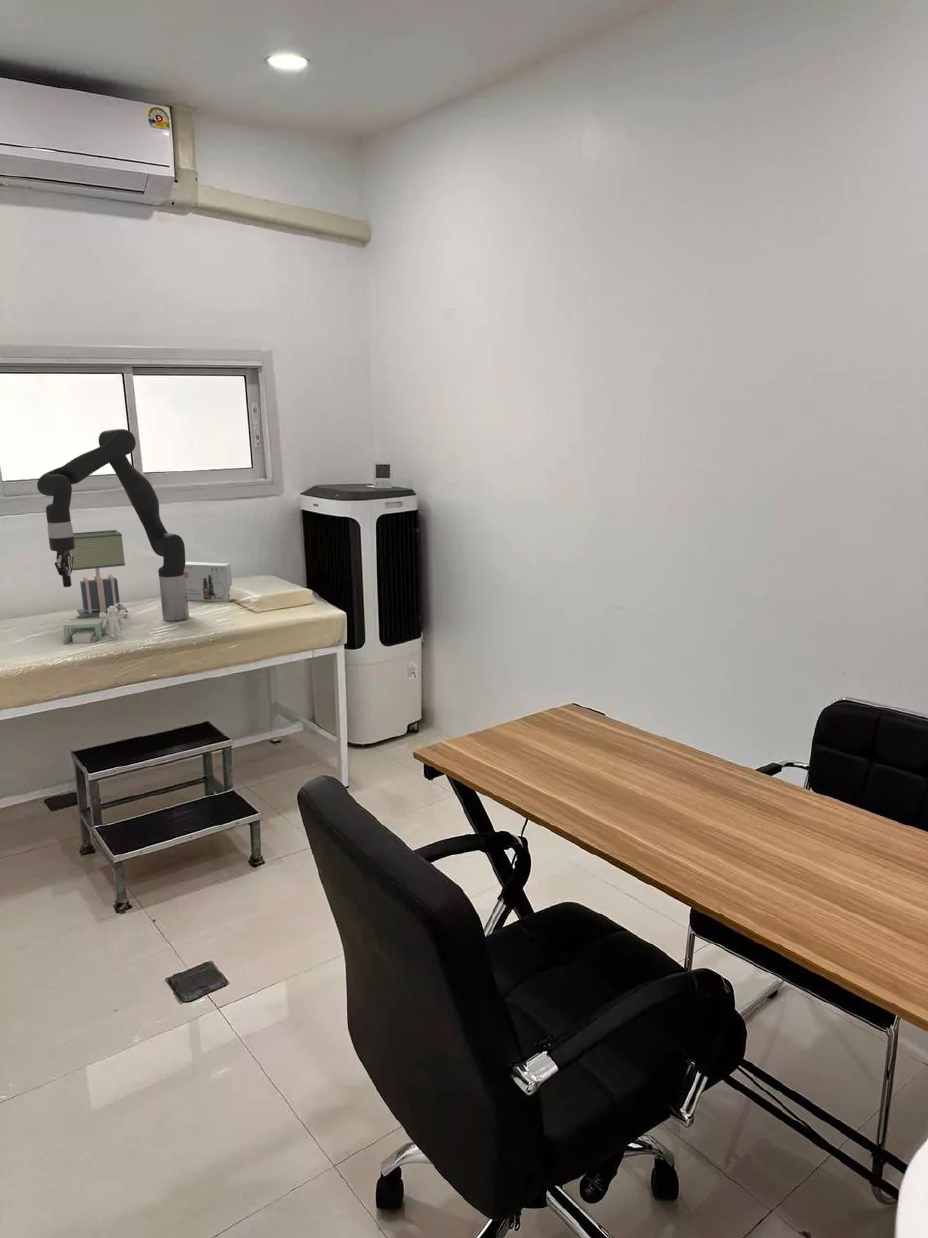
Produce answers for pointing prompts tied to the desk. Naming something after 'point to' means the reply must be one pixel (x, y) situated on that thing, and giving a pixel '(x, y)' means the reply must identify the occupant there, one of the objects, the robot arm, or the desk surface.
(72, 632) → the shelf
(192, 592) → the skincare box
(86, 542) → the desk lamp
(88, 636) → the cover plate
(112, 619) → the hat wearing toy figure
